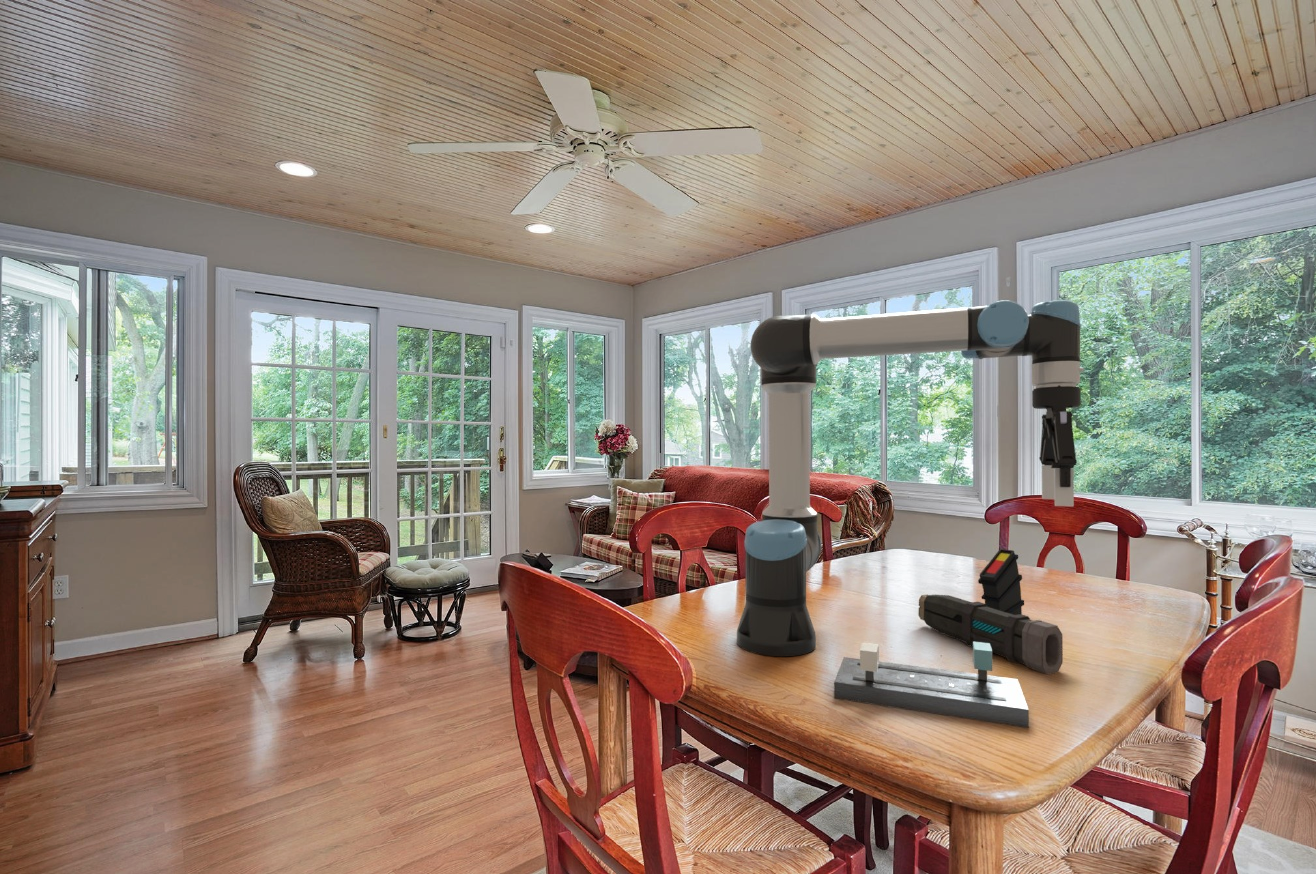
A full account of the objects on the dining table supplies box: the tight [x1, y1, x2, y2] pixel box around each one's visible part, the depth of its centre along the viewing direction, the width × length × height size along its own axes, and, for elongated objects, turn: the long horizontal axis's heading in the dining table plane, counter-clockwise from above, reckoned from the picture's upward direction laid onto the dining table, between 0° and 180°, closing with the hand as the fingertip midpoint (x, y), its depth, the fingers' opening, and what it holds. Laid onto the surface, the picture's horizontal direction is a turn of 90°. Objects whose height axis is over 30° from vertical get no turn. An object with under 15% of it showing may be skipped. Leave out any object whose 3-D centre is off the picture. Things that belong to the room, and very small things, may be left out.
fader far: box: [972, 642, 993, 680], centre depth 97 cm, size 2×4×5 cm, turn 157°
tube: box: [917, 594, 1064, 675], centre depth 120 cm, size 11×7×30 cm
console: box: [833, 656, 1030, 729], centre depth 97 cm, size 26×12×3 cm, turn 67°
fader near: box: [859, 642, 880, 681], centre depth 97 cm, size 2×4×5 cm, turn 157°
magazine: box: [977, 548, 1025, 615], centre depth 138 cm, size 4×13×15 cm, turn 127°
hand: (1056, 502), depth 115 cm, fingers open, 13 cm apart
